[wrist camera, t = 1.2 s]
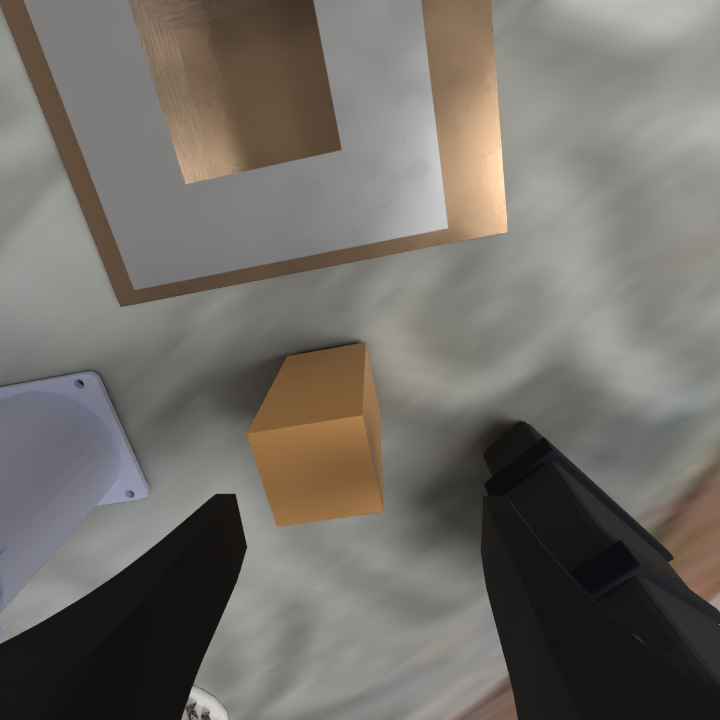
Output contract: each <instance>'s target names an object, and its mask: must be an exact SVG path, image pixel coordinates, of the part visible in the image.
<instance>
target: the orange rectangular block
mask: <svg viewBox="0 0 720 720" xmlns="http://www.w3.org/2000/svg"><path fill="white" fill-rule="evenodd" d="M247 437H248V440H249V443H250V446H251V449H252V452H253V455H254V458H255V461H256V464H257V467H258V470H259V473H260V476H261V480H262V483H263V486H264V489H265V492H266V495H267V498H268V501H269V504H270V507H271V510H272V513H273V516H274V519H275V522H276V525H277V526H285V525H292V524H299V523H306V522H314V521H321V520H328V519H335V518H343V517H350V516H357V515H364V514H372V513H379V512H383V484H382V451H381V419H380V409H379V404H378V400H377V395H376V390H375V385H374V380H373V375H372V370H371V365H370V360H369V355H368V350H367V345H366V342H365V343H359V344H353V345H348V346H342V347H336V348H331V349H325V350H319V351H314V352H308V353H302V354H297V355H291V356H287V358H286V359H285V361H284V363H283V365H282V367H281V369H280V371H279V373H278V375H277V377H276V379H275V380H274V382H273V384H272V386H271V388H270V390H269V392H268V394H267V396H266V398H265V399H264V401H263V403H262V405H261V407H260V409H259V411H258V413H257V415H256V417H255V419H254V420H253V422H252V424H251V426H250V428H249V430H248V432H247Z"/></svg>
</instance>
